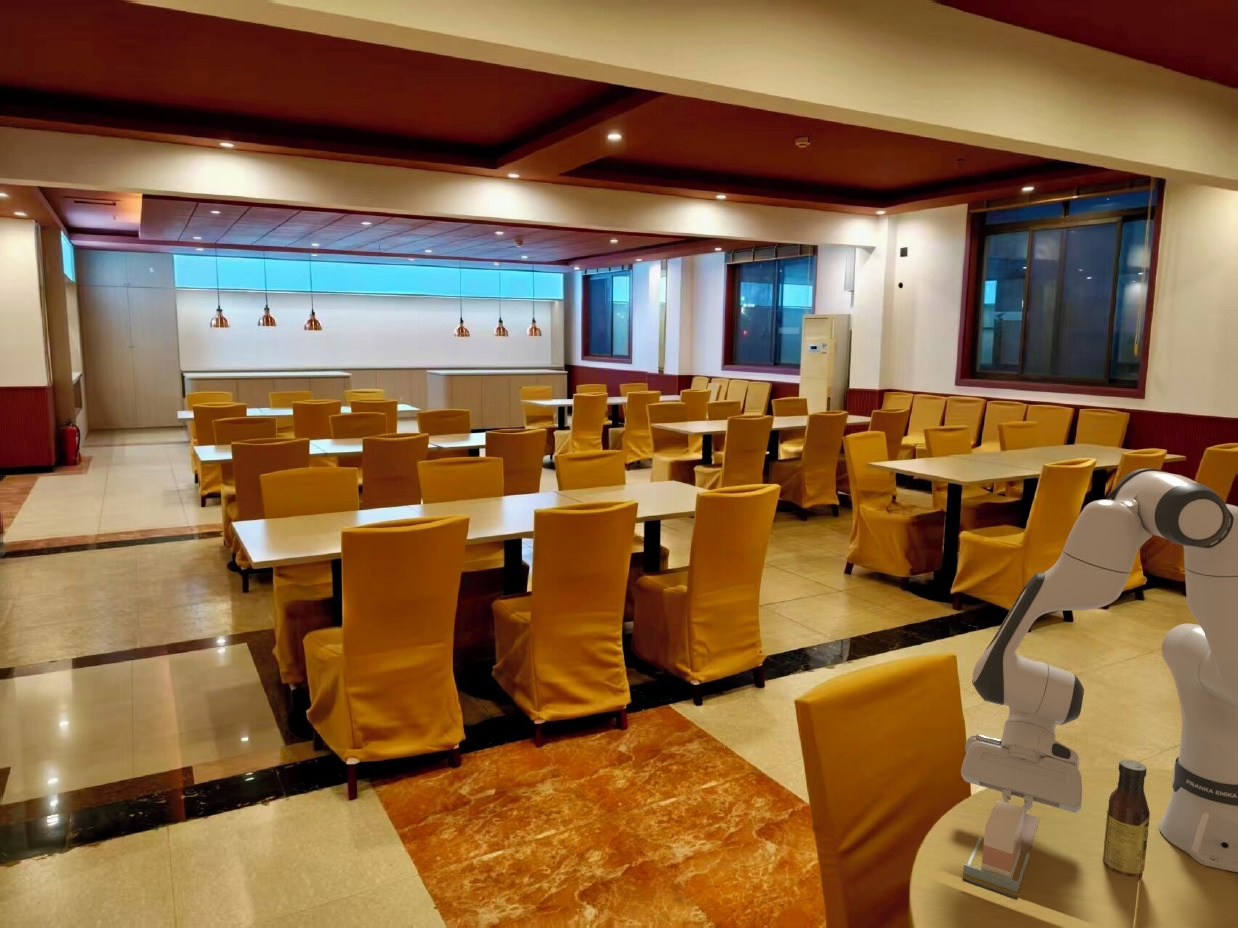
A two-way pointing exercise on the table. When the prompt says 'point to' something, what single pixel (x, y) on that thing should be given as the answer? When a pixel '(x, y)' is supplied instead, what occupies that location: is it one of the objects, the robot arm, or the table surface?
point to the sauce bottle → (1127, 822)
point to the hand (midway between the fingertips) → (1013, 819)
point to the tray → (993, 876)
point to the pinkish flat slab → (1028, 832)
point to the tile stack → (1003, 839)
